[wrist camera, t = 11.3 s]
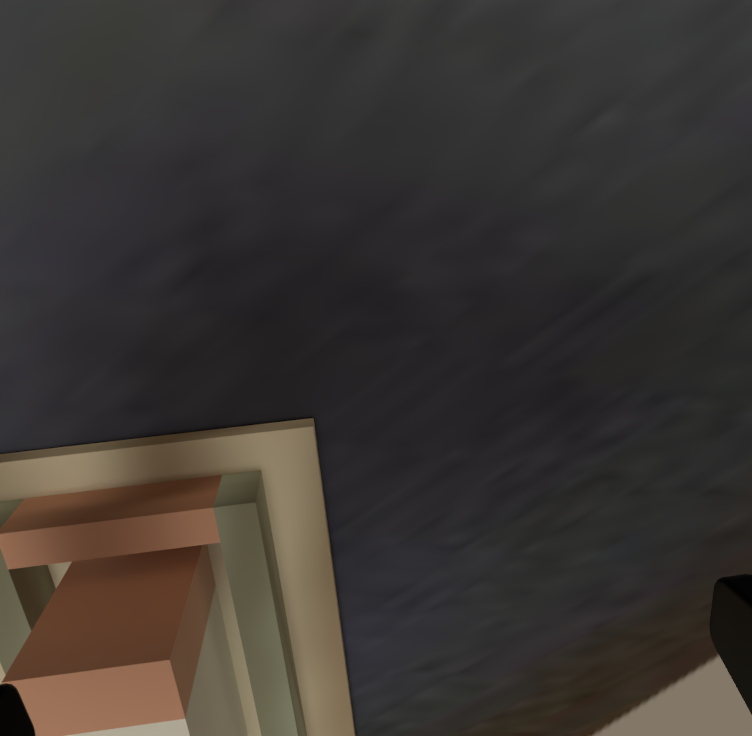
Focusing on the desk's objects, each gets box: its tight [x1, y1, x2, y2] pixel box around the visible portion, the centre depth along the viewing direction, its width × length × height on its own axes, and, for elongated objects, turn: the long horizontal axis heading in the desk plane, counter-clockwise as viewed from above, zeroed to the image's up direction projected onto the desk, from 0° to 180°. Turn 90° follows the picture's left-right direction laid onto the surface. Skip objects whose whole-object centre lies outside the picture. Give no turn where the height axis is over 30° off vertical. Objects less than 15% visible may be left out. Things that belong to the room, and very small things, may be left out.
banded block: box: [1, 544, 248, 736], centre depth 18 cm, size 9×4×5 cm, turn 5°
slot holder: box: [0, 418, 356, 736], centre depth 20 cm, size 12×16×2 cm
